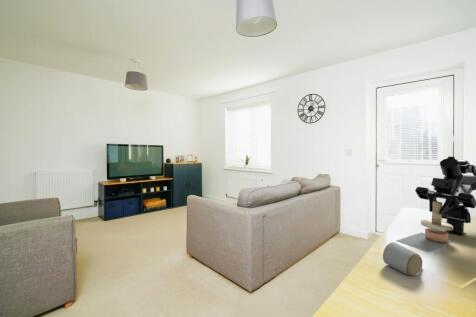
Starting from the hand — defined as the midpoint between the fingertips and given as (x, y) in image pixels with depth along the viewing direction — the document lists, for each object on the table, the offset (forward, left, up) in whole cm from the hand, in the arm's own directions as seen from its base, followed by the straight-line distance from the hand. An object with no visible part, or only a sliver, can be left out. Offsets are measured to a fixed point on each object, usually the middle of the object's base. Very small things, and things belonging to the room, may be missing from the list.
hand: (435, 212), depth 92 cm
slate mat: (+5, -1, -12) cm, 13 cm away
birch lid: (-1, 0, -6) cm, 6 cm away
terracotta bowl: (-1, 0, -12) cm, 12 cm away
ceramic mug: (+34, +6, -13) cm, 36 cm away
